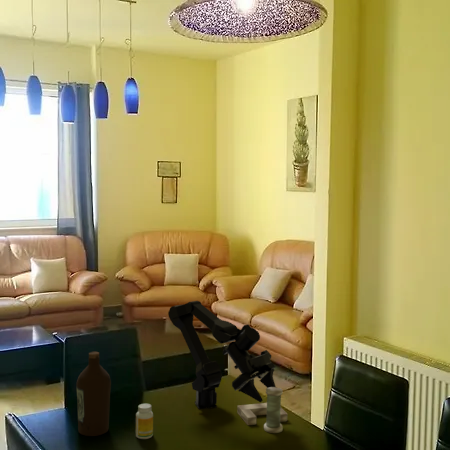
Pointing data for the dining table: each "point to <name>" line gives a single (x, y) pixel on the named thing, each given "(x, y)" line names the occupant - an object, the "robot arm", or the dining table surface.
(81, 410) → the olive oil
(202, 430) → the dining table surface
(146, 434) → the supplement bottle
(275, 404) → the bobbin
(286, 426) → the dining table surface
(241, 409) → the notched board
